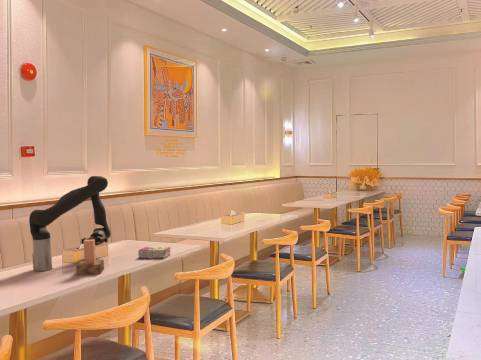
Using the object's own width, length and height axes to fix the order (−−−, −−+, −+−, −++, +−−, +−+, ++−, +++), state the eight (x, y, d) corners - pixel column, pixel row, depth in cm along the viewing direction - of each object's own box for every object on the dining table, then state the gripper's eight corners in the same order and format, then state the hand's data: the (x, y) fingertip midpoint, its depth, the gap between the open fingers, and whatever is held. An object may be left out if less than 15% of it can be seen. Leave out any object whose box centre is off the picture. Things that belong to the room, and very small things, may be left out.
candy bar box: (145, 246, 308) (170, 246, 305) (145, 254, 309) (170, 254, 306) (138, 249, 297) (164, 250, 294) (138, 258, 298) (164, 258, 295)
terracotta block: (84, 263, 264) (83, 241, 263) (86, 261, 269) (85, 239, 268) (94, 263, 265) (93, 240, 264) (96, 261, 270) (94, 239, 269)
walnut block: (77, 275, 260) (76, 265, 260) (81, 270, 272) (81, 261, 272) (100, 273, 262) (100, 264, 262) (104, 268, 274) (103, 259, 274)
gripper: (84, 232, 293) (79, 236, 277) (109, 230, 295) (105, 235, 279) (85, 244, 293) (79, 249, 277) (110, 243, 295) (106, 248, 279)
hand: (92, 242), depth 278 cm, fingers open, 8 cm apart
